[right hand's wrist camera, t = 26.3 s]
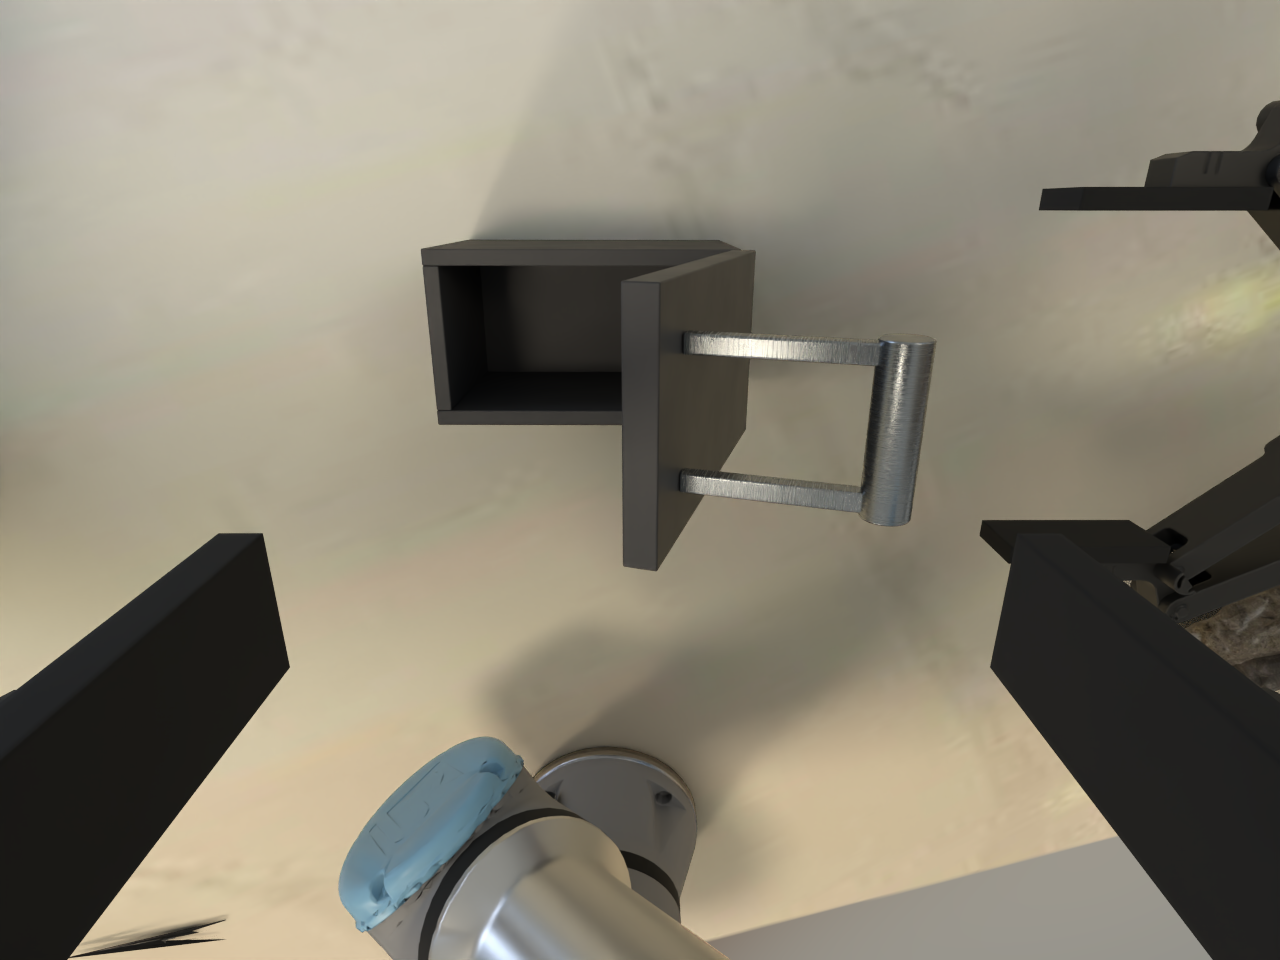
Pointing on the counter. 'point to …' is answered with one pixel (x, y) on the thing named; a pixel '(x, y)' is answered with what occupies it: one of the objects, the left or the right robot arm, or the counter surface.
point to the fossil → (1247, 636)
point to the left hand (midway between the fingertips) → (1023, 384)
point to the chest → (536, 325)
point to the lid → (742, 404)
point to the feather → (153, 942)
